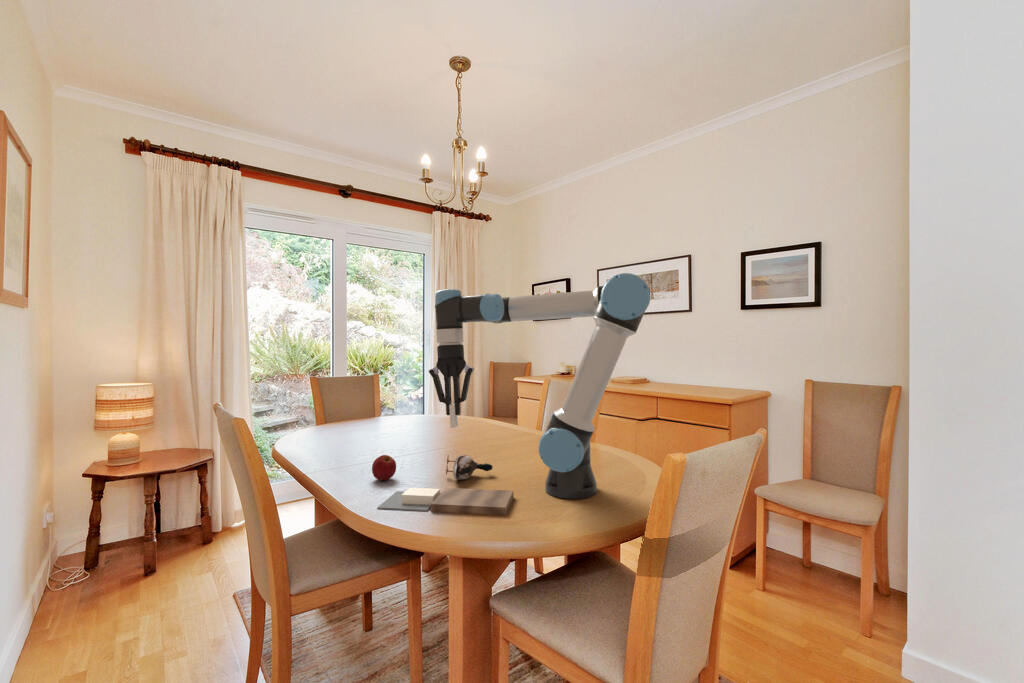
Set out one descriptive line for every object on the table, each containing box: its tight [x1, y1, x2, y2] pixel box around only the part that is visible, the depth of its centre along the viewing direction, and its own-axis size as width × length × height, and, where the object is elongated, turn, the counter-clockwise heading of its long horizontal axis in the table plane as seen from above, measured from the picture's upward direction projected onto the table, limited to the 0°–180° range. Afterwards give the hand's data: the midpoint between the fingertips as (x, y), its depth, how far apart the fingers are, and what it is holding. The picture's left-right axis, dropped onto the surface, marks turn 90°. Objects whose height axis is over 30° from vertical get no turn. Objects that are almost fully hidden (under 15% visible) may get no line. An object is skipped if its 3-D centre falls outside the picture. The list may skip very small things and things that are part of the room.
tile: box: [402, 487, 441, 505], centre depth 128 cm, size 9×6×2 cm, turn 81°
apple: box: [371, 454, 397, 482], centre depth 148 cm, size 8×8×8 cm
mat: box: [376, 490, 431, 512], centre depth 128 cm, size 14×13×1 cm
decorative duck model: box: [445, 454, 493, 481], centre depth 147 cm, size 15×8×15 cm
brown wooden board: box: [430, 487, 514, 516], centre depth 125 cm, size 20×13×2 cm, turn 81°
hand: (454, 426), depth 131 cm, fingers closed
